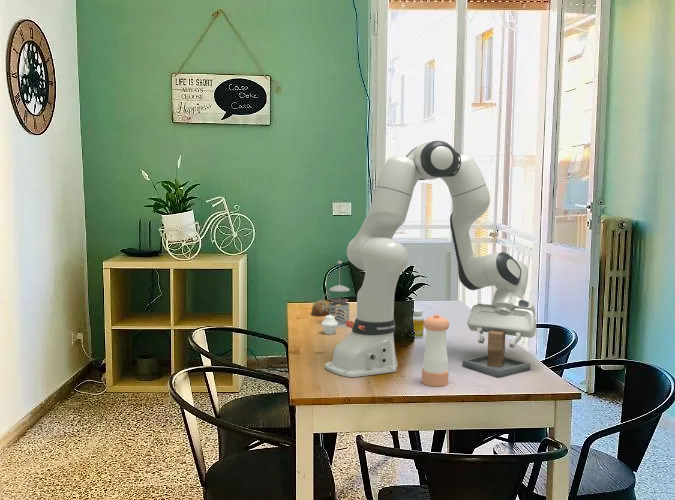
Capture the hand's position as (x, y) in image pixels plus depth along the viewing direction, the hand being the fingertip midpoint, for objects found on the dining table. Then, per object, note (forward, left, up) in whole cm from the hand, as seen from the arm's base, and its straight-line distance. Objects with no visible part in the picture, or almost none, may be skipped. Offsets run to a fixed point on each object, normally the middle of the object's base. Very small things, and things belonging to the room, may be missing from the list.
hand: (496, 344), depth 194 cm
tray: (+1, 0, -7) cm, 7 cm away
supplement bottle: (+8, +43, -8) cm, 45 cm away
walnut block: (0, 0, -6) cm, 6 cm away
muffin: (-15, +64, -8) cm, 67 cm away
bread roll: (+2, +94, -8) cm, 94 cm away
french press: (-4, +75, -8) cm, 76 cm away
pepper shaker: (-24, 0, -8) cm, 26 cm away
